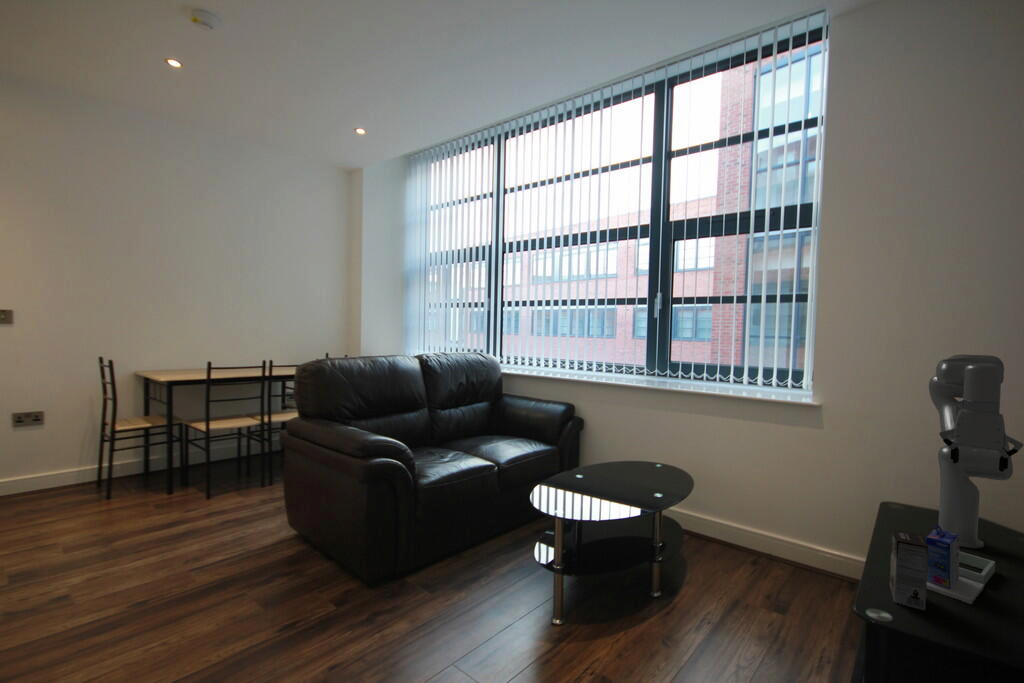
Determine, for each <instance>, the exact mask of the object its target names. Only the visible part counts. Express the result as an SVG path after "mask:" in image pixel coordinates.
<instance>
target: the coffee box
mask: <svg viewBox="0 0 1024 683" xmlns="http://www.w3.org/2000/svg"><path fill="white" fill-rule="evenodd" d="M928 551H929V547H928V545H927V543H926V538H925V536H924V535H923V533H920V532H912V531H907V530H900V529H895V528H892V529H891V547H890V571H889V588H890V593H891V596H892V600H893V603H894V602H895V604H897V603H899V604H898V605H901V604H902V606H905V605H906V607H910V608H914V609H917V610H920V611H927V610H926V608H927V607H926V603H927V589H926V588H927V570H928Z"/></svg>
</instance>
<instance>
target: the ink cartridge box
mask: <svg viewBox="0 0 1024 683" xmlns="http://www.w3.org/2000/svg"><path fill="white" fill-rule="evenodd" d="M938 528H939V529H940V530H939V529H938ZM933 530H934V531H933ZM933 530H932V531H933V532H932V531H931V532H930V533H929V535H927V536H926V537H925V541H926V543H927V545H928V547H929V551H928V570H927V581H928V582H931V583H934V584H937V585H940V586H943V587H946V588H949V589H951V588H952V586H953V585H954V584H955V583H956V581H957V580H958V579H959V567H960V562H959V551H960V546H959V535H958V534H954V533H950V532H947V531H943V530H942V529H941V527H940V526H939V523H937V524H935V525H934V529H933Z"/></svg>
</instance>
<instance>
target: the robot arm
mask: <svg viewBox="0 0 1024 683" xmlns="http://www.w3.org/2000/svg"><path fill="white" fill-rule="evenodd" d="M1004 374H1005V366H1004V362H1003V360H1002V359H1001V358H1000V357H998V356H996V355H986V354H985V355H984V354H983V355H981V354H954V355H952V356H951V355H950V357H947V358H946V359H941V360H939V361H938V363H937V366H936V368H935V375H933V376H932V377H931V378H930V379H929V382H928V390H929V395H930V400H932V404H933V405H934V406H935V408H936V410H937V412H938V415H939V425H940V432H939V433H938V434H939V436H940V438H941V439H942V441H943V443H944V444H945V445H944V446H942V447H940V448H939V450H938V452H937V458H938V465H939V475H940V476H939V478H940V479H939V480H940V484H939V485H940V487H939V489H940V490H939V507H938V508H939V510H938V525H939V526H940V527H941V529H942V530H943V531H947V532H950V533H954V534H958V535H959V547H962V548H967V549H983V548H984V546H985V543H984V541H983V540H982V539H980V538H979V537H978V535H979V533H978V532H979V531H978V530H979V515H980V513H979V512H980V511H979V509H980V490H979V488H978V486H977V484H975V483H974V482H973V481H972V480H971V479H970V478H971V477H972V478H981V479H987V480H994V481H1007V480H1009V479H1010V478H1012V476H1013V473H1014V465H1013V460H1012V456H1014V455H1015V454H1017V453H1018V452H1019V451H1020V450H1021V449H1022V448H1023V447H1024V443H1023V442H1020V441H1018V440H1017V439H1014V438H1013V437H1011V436H1009V435H1007V433H1006V427H1005V420H1004V415H1003V414H1002V413H1000V409H1001V408H1000V407H1001V388H1002V386H1001V385H1002V384H1003V382H1004V379H1005V375H1004ZM957 398H958V399H962V400H960V401H959V400H958V399H957ZM1009 443H1010V444H1012V445H1013V447H1012V448H1011V449H1010V446H1009V445H1010V444H1009ZM938 529H939V528H938ZM934 530H935V529H932V531H931V533H932V532H933V531H934ZM939 530H940V529H939Z"/></svg>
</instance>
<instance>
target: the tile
mask: <svg viewBox="0 0 1024 683" xmlns="http://www.w3.org/2000/svg"><path fill="white" fill-rule="evenodd" d="M984 589H985V585H984V584H981V583H978V582H975V581H972V580H969V579H966V578H963V577H960V576H959V579H958V580H957V581H956V583H955V584H954V585H953V586H952V588H951V589H949V588H946V587H943V586H940V585H937V584H934V583H931V582H928V581H927V588H926V590H929V591H932V592H935V593H938V594H940V595H943V596H946V597H949V598H952V599H954V598H955V600H957V599H958V600H957V601H960V600H961V602H963V603H966V604H969V605H973V603H974V602H975V600H976V599H977V598H978V597H979V595H980V594H981V593H982V591H983V590H984ZM976 597H977V598H976ZM973 601H974V602H973Z"/></svg>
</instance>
